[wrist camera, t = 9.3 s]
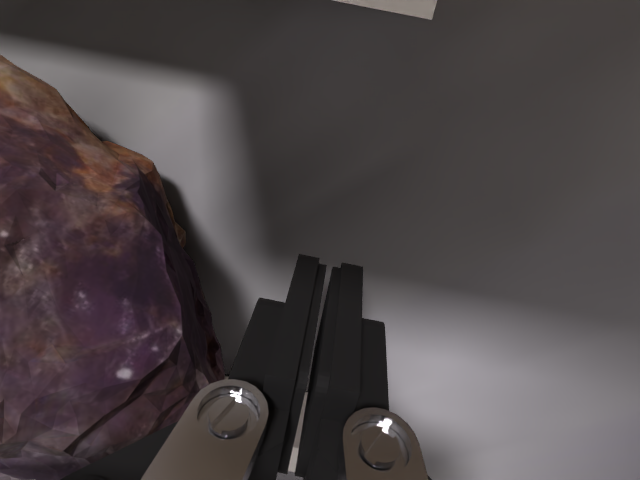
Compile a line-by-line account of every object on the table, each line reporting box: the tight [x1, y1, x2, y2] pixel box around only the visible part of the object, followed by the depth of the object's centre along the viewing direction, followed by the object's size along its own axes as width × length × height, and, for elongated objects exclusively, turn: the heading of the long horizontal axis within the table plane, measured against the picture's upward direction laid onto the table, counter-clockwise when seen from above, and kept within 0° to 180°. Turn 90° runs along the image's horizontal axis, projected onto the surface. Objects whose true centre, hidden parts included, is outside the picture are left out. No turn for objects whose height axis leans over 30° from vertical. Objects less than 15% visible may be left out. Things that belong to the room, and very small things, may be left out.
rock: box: [0, 55, 225, 480], centre depth 11 cm, size 12×9×10 cm
